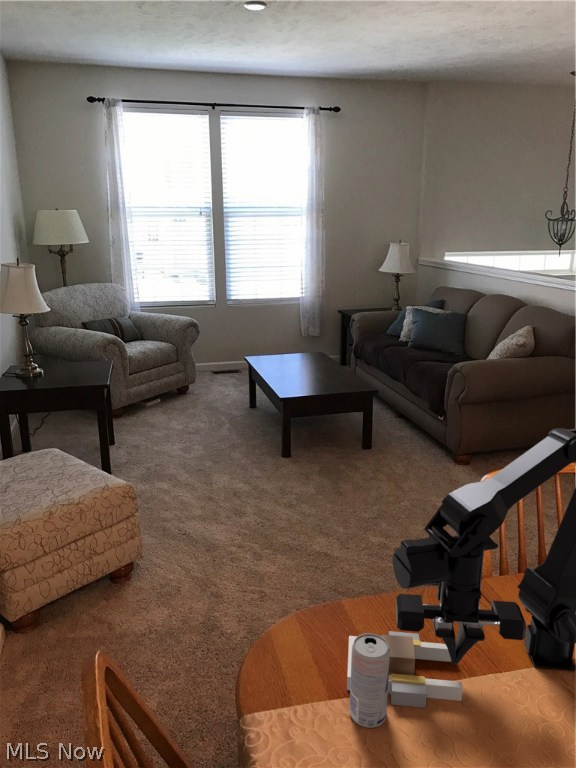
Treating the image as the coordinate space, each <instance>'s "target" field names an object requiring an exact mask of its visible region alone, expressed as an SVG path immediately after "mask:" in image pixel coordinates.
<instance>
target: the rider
mask: <svg viewBox="0 0 576 768" xmlns="http://www.w3.org/2000/svg"><path fill="white" fill-rule="evenodd" d="M380 636H381V637H383V638H384V639H385V640H386V641H387V643H388V646H389V650H390V658H389V675H391V674H402V675H413V676H415V670H416V669H415V666H416V665H415V664H416V659H415V653H414V644H413V637H407V636H395V635H389V634H381V635H380Z"/></svg>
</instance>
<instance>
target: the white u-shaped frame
mask: <svg viewBox="0 0 576 768" xmlns="http://www.w3.org/2000/svg"><path fill="white" fill-rule="evenodd" d="M388 635H395V636H407V637H413V644H414V653H415V660H416V659H417V660H424V661H425V660H426V661H427V660H428V661H437V662H449V663H452V661H451V658H450V654H449V651H448V648H447V646H446V644H445V643H440V642H439V643H438V642H437V643H436V642H428V641H421V639H420V633H416V632H415V633H413V632H405V631H404V632H402V631H401V632H400V631H390V630H389V631H388ZM358 636H359V635H358ZM358 636H355V635H349V636H348V650H347V651H348V654H347V656H348V657H347V674H346V675H347V677H346V678H347V681H346V690H347V691H350V686H351V656H352V645H353V643H354V640H355V639H356V637H358ZM463 687H464V686H463V683H462V681H457V680H455V681H454V680H445V679H434V678H426V677H425V676H424V675H423V676H422V675H414V676H413V675H402V674H391V675H389V677H388V695H390V699H391V700H390V702H391V705H393V706H404V707H413V708H414V707H415V708H426V706H427V699H436V700H437V699H438V700H448V701H457V702H458V701H459V702H462V697H463Z"/></svg>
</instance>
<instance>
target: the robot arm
mask: <svg viewBox="0 0 576 768" xmlns="http://www.w3.org/2000/svg"><path fill="white" fill-rule="evenodd" d="M572 463H574V464H575V465H576V428H572V429H571V428H570V429H566V428H562V427H560V428H553V429H551V430H550V431H549V432H548V433H547V435H546V436H545V438H543V439H542V440H541V441H539V442H538V443H536V444H535V445H534V446H533V447H531V448H530V449H528V450H527V451H525V452H524V453H523V454H521V455H520V456H518V458H516V459H514V460H513V461H512V462H510V463H509V464H508V465H506V466H505V467H503V468H502V469H501V470H499V471H497V473H495V474H494V475H492V476H491V477H489V478H487V479H485V480H482V481H477V482H470V483H468V484H465V485H462V486H460V487H459V488H457V489H455V490H453V491H451V492H450V493H448V494H447V495H445V497H444V498H443V500H442V501H441V505H440V507H439V508H438V509H437V511H436V512H435V513H434V514H433V516H432V517H431V519H430V520H429V521H428V523H427V524H426V526H424V528H423V529H424V530H423V531H424V532H425V533H426V534H428V537H425V538H419V539H403V540H401V541H400V546H399V547H397V548H396V549H395V550H394V554H392V568H393V572H394V573H393V574H394V575H395V578H396V581H397V582H398V585H399V586H400V587H401V588H402V589H405V590H406V589H411V588H412V589H413V588H416V587H422V586H433V587H437V592H436V593H437V595H436V598H437V601H439V604H430V603H429V604H428V603H427V604H426V603H423V597H422V594H410V593H409V594H407V593H399V594H398V595H397V596H396V597H395V615H396V616H395V618H396V628H397V629H399V630H400V631H404V632H415V633H416V632H417V633H418V632H421V630H423V629H424V628H425V619H427V620H428V619H429V620H432V625H433V629H434V635H435V637H437V638H439V639H440V638H441V639H442V640H443V642H444V644H446V646H447V648H448V651H449V654H450V658H451V661H452V662H451V664H453V665H458V664H459V663H460V661H462V659H463V658H464V657H465V655H466V654H467V653H468V651H469V650H471V648H473V646H475V645H476V644H477V643H478V642H484V641H485V639H486V636H485V631H484V627H485V626H495V627H496V626H498V633H499V635H500V636H501V638H503V639H504V640H516V641H523V640H524V646H525V649H526V653H527V654H528V656H529V657H530V659H531V662H532V664H533V666H534V667H535V668H541V669H552V670H553V669H555V670H564V671H573V672H574V671H576V663H575V661H574V652H575V646H576V486H575V488H574V490H573V493H572V495H571V498H570V500H569V502H568V504H567V507H566V509H565V512H564V515H563V516H562V519H561V522H560V524H559V526H558V529H557V531H556V533H555V536H554V538H553V540H552V543H551V545H550V548H549V550H548V552H547V555H546V557H545V560H544V562H543V563H540V565H538V566H536V567H535V568H531V567H529V566H528V567H527V568H526V569H525V570H524V571H523V572H524V573H523V575H522V576H523V577H522V579H521V582H520V583H519V584H518V585H517V589H519V590H518V599H519V602H520V603H521V605H523V606H524V610H525V611H526V612H527V613H529V614H530V615H531V617H530V618H531V619H530V624H527V623H526V620H525V618H524V616H523V612H522V611H521V610H522V609H521V608H520V606H519V605H518V604H517V602H516V601H508V600H507V601H503V600H491V602H490V603H491V604H490V609H481V606H480V601H481V599H482V591H481V590H482V581H483V578H482V577H483V570H484V569H483V567H484V559H485V557H484V556H485V552H486V551H491V550H496V549H498V548H499V544H498V543H497V542H496V541H495V540H494V539H493V538H491V536H492V535H493V534H494V533H495V532H496V531H497V530H498V529H499V528H500V527H502V525H503V524H504V522H505V520H506V517H507V514H508V511H509V510H510V509H511V508H512V507H513V506H514V505H515V504H517V503H518V502H520V501H521V500H522V499H523V498H525V497H527V496H528V495H529V494H530V493H533V491H535V490H536V489H537V488H538V487H540V486H542V485H543V484H544V483H546V482H547V481H548V480H550V479H552V477H554V476H555V475H557V474H558V473H559V472H561V471H562V470H564V469H565V468H567V466H570V465H571V464H572ZM446 526H448V527H449V528H450V529H451V530H452V531H453V532H454V533H455V534H456V535H452V534H450V533H449V532H448V531H447V530H446V529H445V528H444V527H446ZM455 623H457V624H458V630H457V635H456V632H455V628H454V624H455Z"/></svg>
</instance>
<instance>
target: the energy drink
mask: <svg viewBox="0 0 576 768" xmlns="http://www.w3.org/2000/svg"><path fill="white" fill-rule="evenodd" d="M389 658H390V650H389V646H388V643H387V641H386V640H385V639H384V638H383V637H381V635H378V634H376V633H372V632H371V633H369V632H367V633H362V634H360V635H358V637H356V639H355V640H354V643H353V645H352V656H351V686H350V690H349V691H350V693H349V715H350V717H351V719H352V720H353V721H354V723H355V724H357V725H359V726H361V727H363V728H366V729H367V728H368V729H373V728H377V727H379V726H381V725H382V724H383V723H384V722H385V721H386V720H387V719H386V718H387V712H388V696H389V694H388V677H389Z"/></svg>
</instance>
